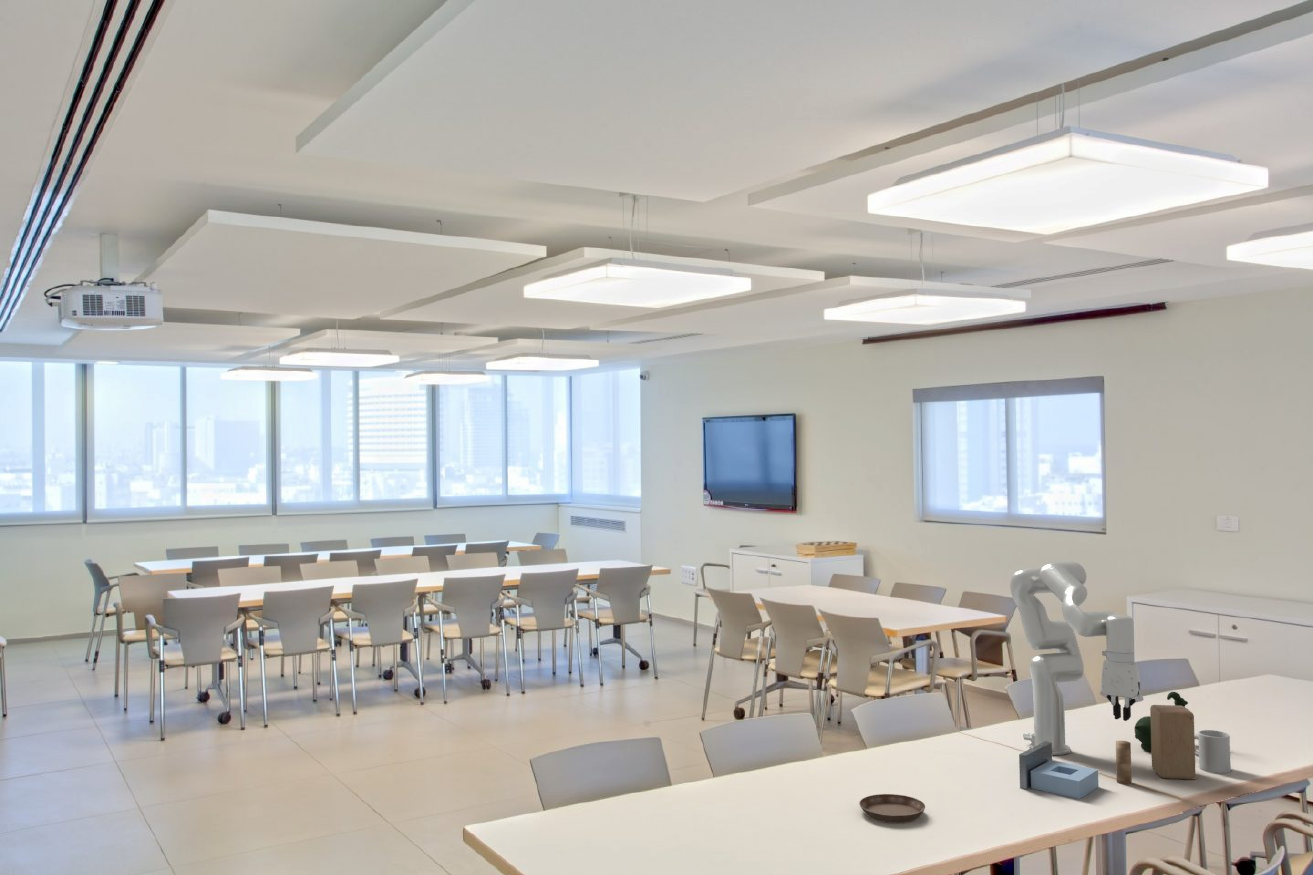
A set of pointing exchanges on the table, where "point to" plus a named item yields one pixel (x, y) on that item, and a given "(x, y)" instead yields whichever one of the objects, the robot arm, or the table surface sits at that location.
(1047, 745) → the backstop wall
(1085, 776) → the socket block
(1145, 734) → the toy figurine
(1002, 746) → the table surface
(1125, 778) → the dowel
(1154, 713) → the wooden block
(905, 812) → the plant saucer
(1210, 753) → the mug
